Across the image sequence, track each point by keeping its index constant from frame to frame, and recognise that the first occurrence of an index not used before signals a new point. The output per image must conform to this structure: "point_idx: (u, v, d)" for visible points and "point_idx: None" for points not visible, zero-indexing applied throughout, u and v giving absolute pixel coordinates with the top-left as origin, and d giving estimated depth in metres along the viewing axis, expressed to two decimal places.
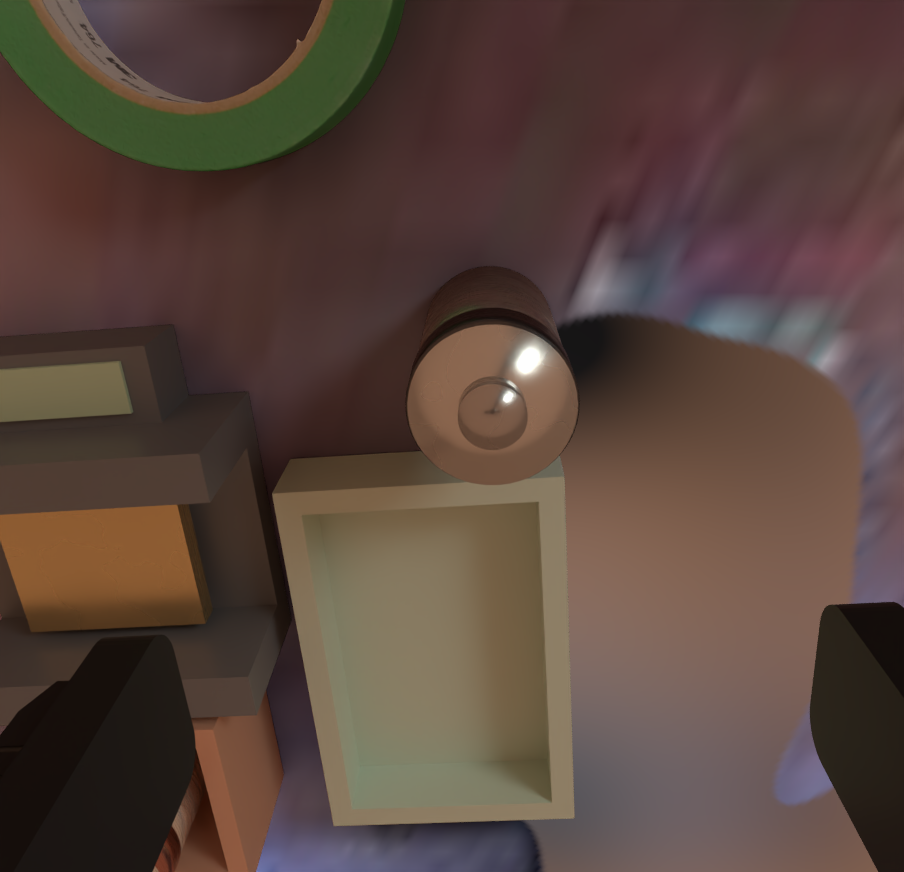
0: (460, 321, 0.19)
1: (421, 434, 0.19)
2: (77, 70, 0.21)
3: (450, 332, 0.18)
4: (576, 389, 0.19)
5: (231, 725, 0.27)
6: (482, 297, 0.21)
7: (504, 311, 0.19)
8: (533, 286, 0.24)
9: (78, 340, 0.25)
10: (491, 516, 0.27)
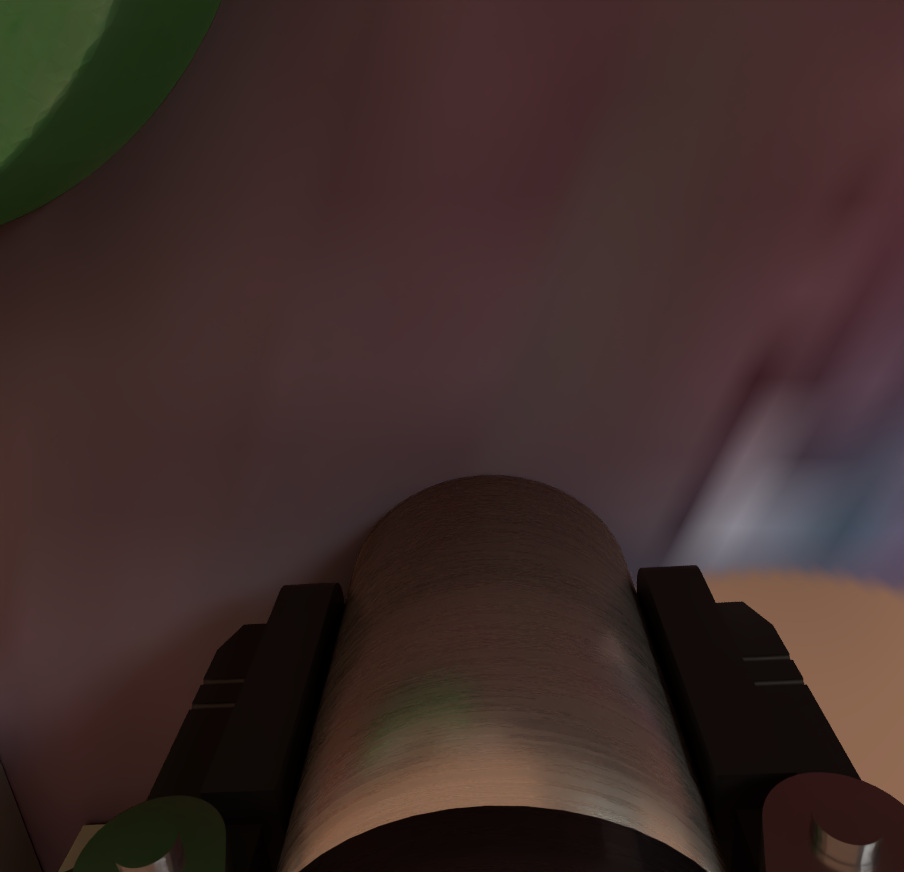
0: None
1: None
2: None
3: None
4: None
5: None
6: (474, 683, 0.07)
7: (553, 846, 0.05)
8: (594, 530, 0.10)
9: None
10: None
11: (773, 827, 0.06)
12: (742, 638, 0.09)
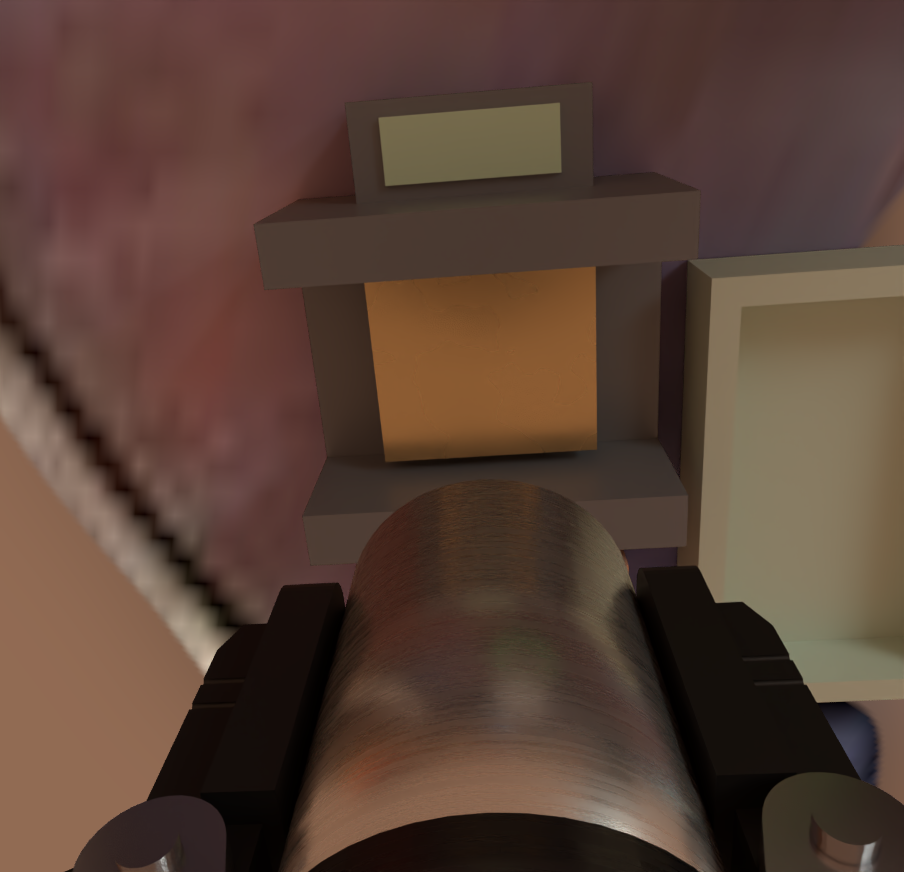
0: None
1: None
2: None
3: None
4: None
5: None
6: (475, 689, 0.07)
7: (553, 853, 0.05)
8: (594, 535, 0.10)
9: None
10: None
11: (773, 827, 0.06)
12: (742, 638, 0.09)
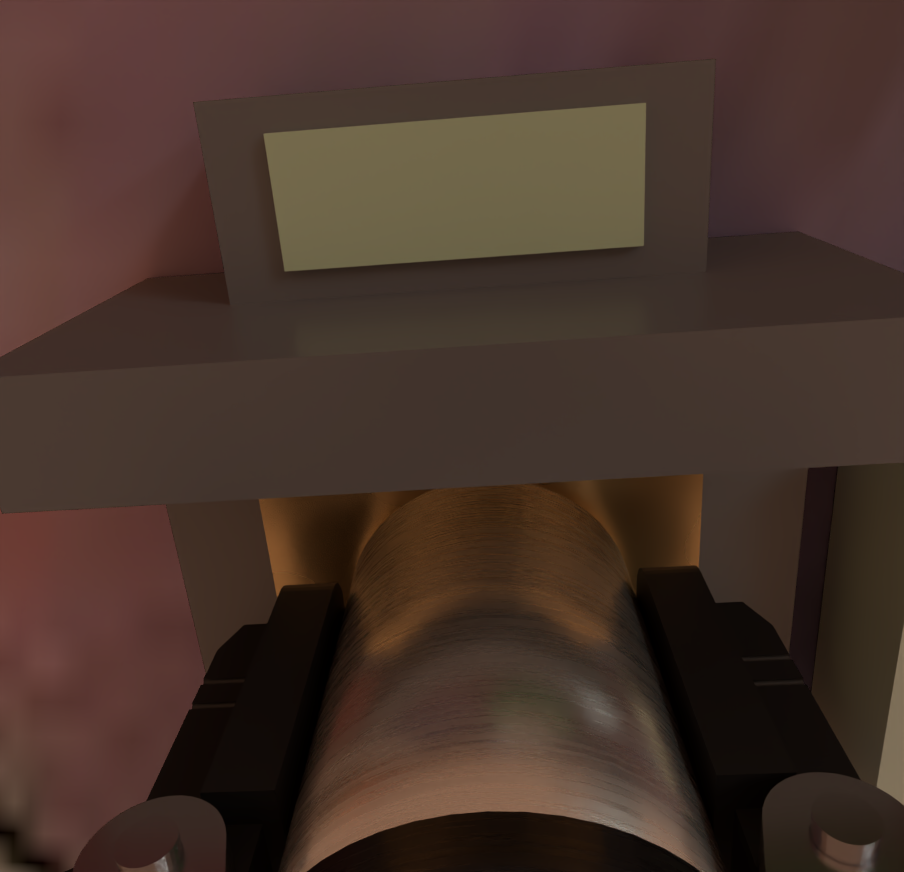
0: None
1: None
2: None
3: None
4: None
5: None
6: (475, 688, 0.07)
7: (553, 852, 0.05)
8: (594, 534, 0.10)
9: None
10: None
11: (773, 827, 0.06)
12: (742, 638, 0.09)
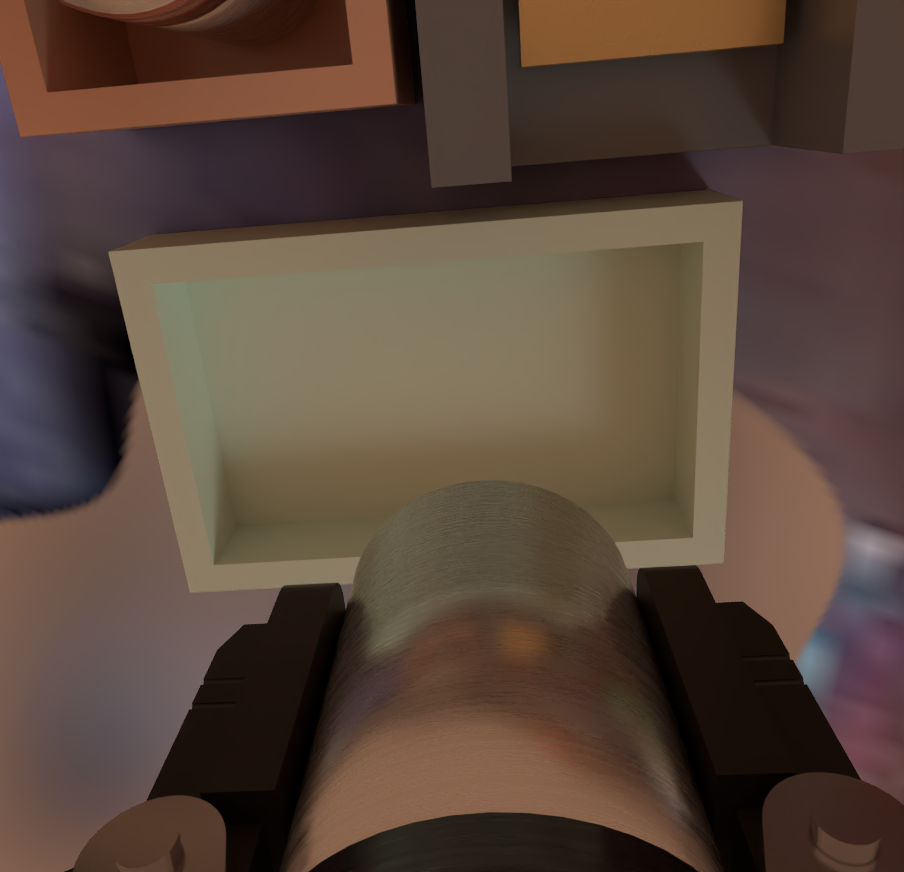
0: None
1: None
2: None
3: None
4: None
5: (348, 108, 0.16)
6: (475, 690, 0.07)
7: (553, 853, 0.05)
8: (594, 536, 0.10)
9: None
10: (617, 453, 0.22)
11: (773, 827, 0.06)
12: (742, 638, 0.09)
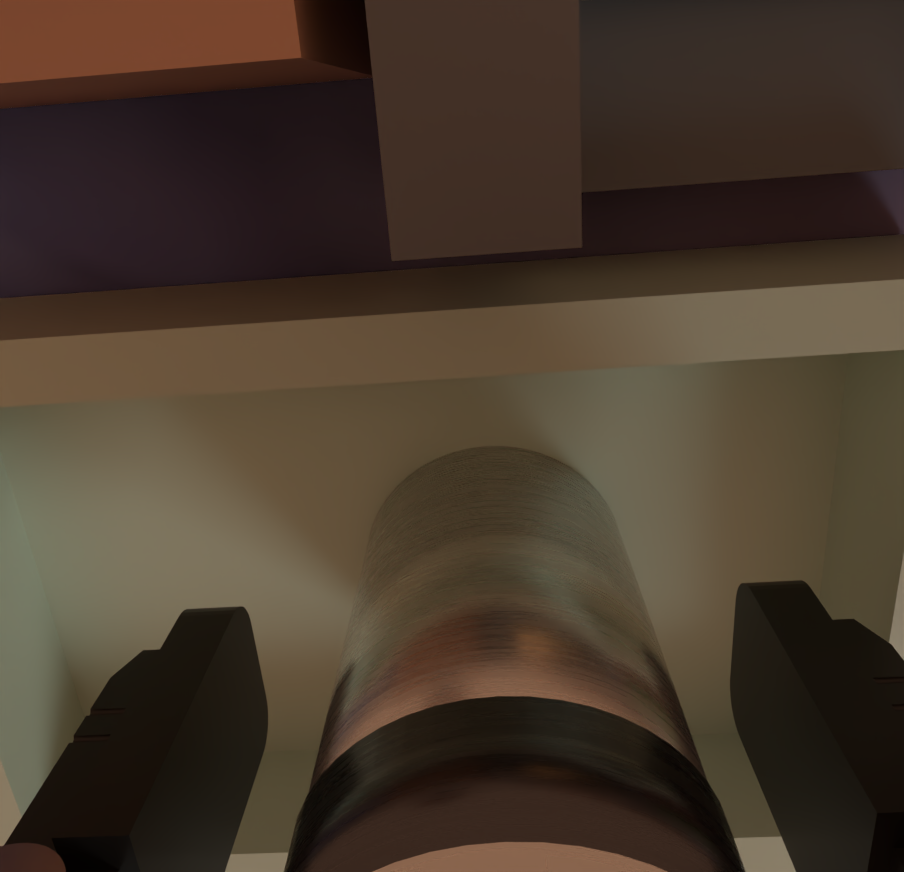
0: (420, 778, 0.06)
1: None
2: None
3: (384, 853, 0.06)
4: None
5: (211, 75, 0.07)
6: (484, 609, 0.08)
7: (553, 725, 0.06)
8: (589, 495, 0.11)
9: None
10: (716, 662, 0.13)
11: None
12: (862, 659, 0.09)
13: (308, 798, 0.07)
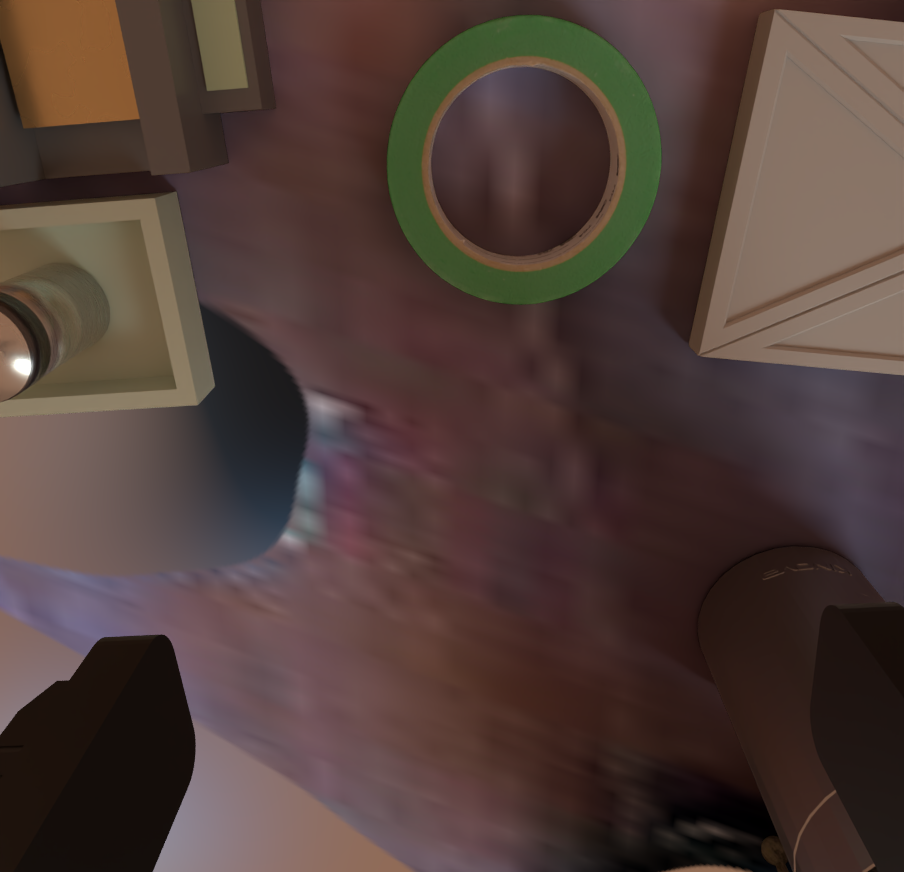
0: None
1: None
2: (447, 89, 0.31)
3: None
4: (23, 338, 0.30)
5: None
6: None
7: None
8: (79, 274, 0.35)
9: (258, 39, 0.32)
10: (152, 345, 0.37)
11: None
12: None
13: None
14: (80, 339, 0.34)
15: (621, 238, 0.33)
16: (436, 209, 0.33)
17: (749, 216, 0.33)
